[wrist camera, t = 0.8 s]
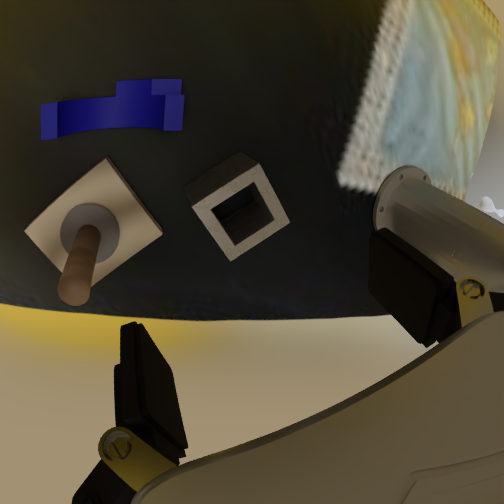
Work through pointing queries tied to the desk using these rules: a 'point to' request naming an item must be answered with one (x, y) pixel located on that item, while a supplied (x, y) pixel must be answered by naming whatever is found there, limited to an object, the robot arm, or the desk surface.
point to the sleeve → (246, 218)
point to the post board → (113, 199)
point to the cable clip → (118, 109)
